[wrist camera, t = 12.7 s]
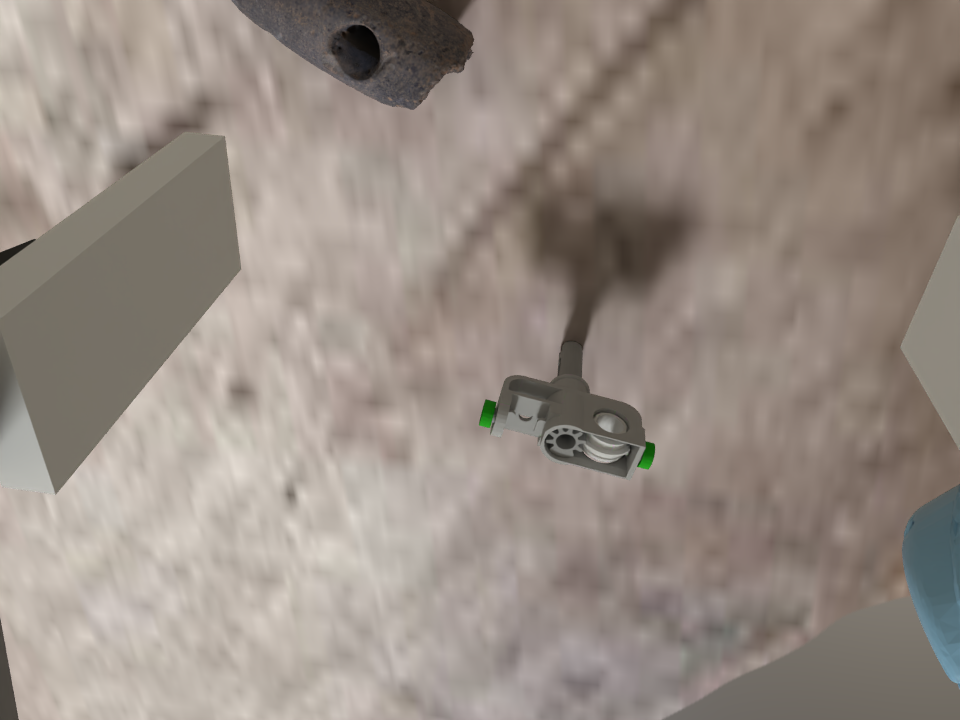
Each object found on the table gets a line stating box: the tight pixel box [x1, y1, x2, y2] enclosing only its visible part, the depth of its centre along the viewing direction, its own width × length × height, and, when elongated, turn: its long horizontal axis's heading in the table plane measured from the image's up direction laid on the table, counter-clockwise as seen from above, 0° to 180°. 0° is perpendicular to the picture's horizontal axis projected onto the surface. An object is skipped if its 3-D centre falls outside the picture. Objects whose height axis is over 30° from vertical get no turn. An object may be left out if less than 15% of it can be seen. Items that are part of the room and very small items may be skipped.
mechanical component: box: [479, 341, 655, 480], centre depth 49 cm, size 3×10×10 cm, turn 77°
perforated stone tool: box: [232, 0, 474, 110], centre depth 40 cm, size 15×5×7 cm, turn 62°
